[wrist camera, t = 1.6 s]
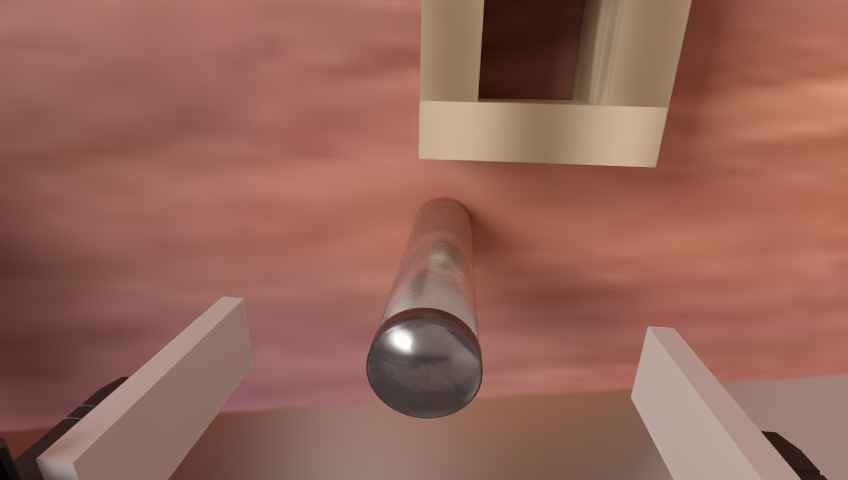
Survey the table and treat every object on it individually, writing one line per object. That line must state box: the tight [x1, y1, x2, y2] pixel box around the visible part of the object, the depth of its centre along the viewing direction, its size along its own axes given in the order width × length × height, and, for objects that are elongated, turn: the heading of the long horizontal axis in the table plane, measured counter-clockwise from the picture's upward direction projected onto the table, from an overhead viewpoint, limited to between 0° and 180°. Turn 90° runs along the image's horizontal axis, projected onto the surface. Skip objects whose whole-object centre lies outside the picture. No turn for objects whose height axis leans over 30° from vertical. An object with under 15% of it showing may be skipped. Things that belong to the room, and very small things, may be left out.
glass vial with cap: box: [366, 198, 483, 418], centre depth 19 cm, size 4×4×14 cm
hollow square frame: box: [419, 0, 692, 167], centre depth 19 cm, size 10×10×6 cm
